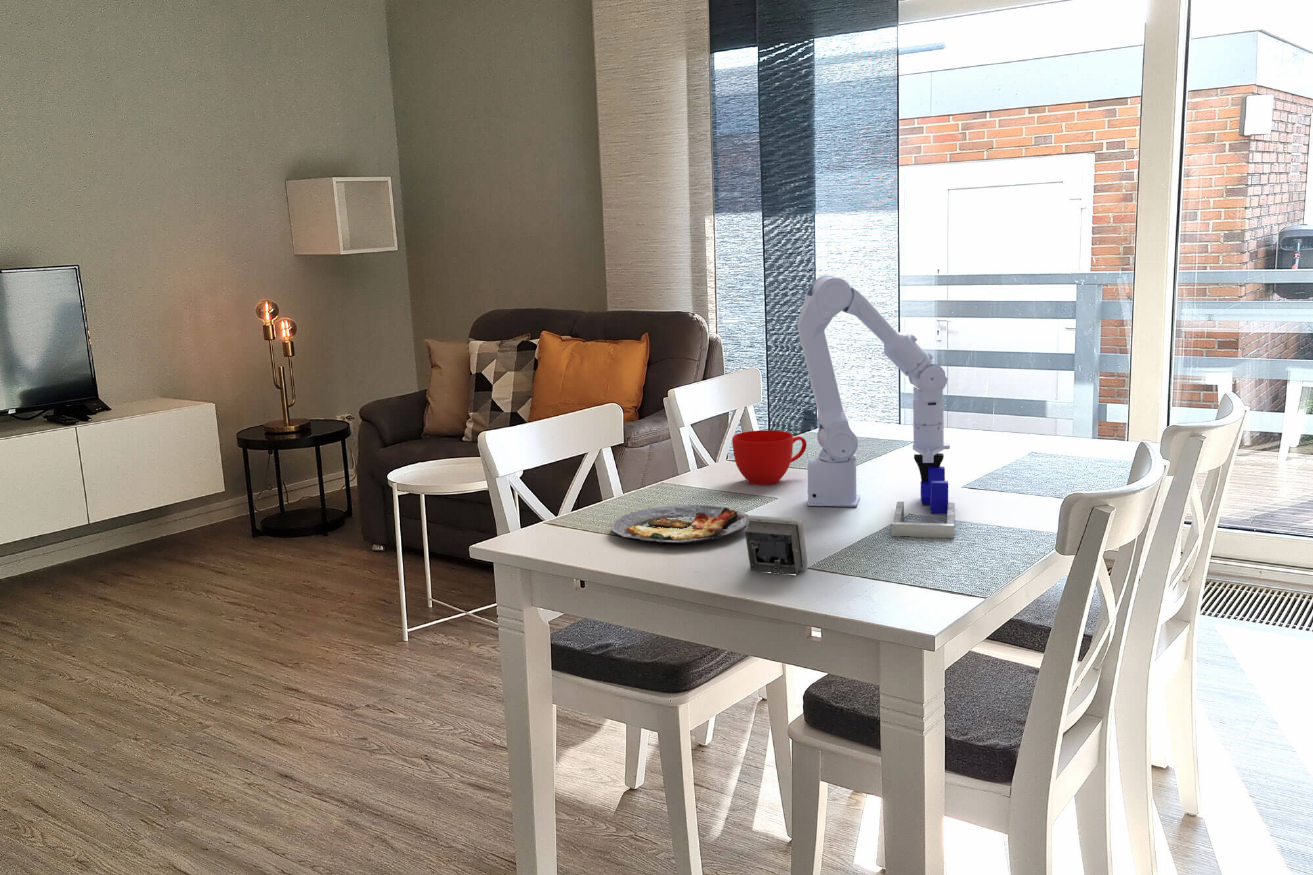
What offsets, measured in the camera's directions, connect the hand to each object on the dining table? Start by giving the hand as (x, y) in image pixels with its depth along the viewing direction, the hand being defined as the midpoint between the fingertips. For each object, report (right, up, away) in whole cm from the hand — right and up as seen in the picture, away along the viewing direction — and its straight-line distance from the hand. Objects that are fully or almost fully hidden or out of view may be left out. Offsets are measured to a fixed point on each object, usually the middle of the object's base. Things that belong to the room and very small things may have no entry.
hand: (929, 490), depth 213 cm
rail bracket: (-5, -5, -18) cm, 20 cm away
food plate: (-49, -7, -15) cm, 52 cm away
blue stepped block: (-1, -3, -6) cm, 7 cm away
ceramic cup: (-29, +1, +20) cm, 35 cm away
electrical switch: (-35, -11, -40) cm, 54 cm away
